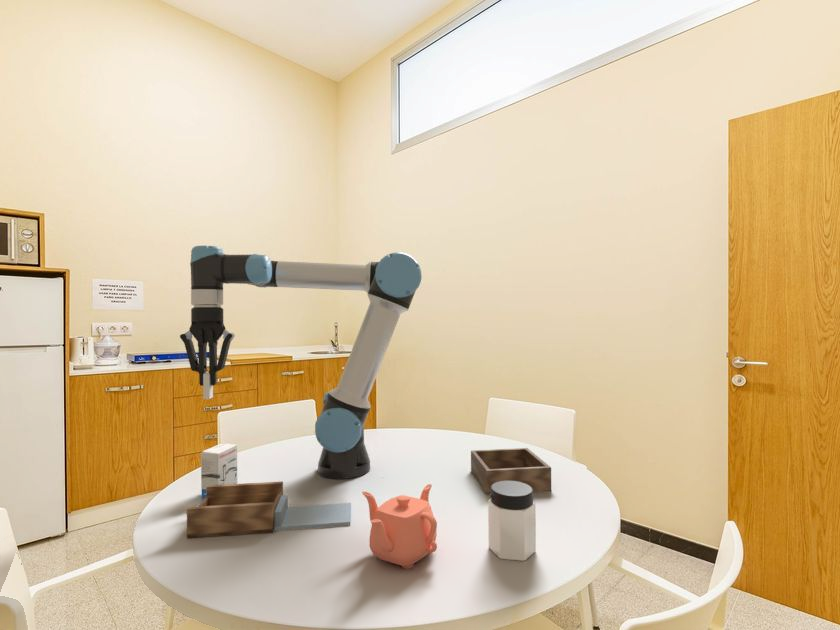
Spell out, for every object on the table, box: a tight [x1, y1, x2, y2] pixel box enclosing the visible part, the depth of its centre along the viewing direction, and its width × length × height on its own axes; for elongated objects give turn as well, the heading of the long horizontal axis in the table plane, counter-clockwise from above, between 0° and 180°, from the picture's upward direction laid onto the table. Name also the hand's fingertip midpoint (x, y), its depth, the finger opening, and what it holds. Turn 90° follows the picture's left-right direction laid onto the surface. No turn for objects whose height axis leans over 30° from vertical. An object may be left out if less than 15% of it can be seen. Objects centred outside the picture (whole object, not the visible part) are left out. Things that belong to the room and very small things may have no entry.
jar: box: [487, 481, 537, 562], centre depth 88 cm, size 9×8×12 cm
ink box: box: [200, 443, 238, 500], centre depth 116 cm, size 9×5×12 cm, turn 168°
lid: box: [273, 494, 352, 532], centre depth 102 cm, size 16×10×4 cm, turn 98°
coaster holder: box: [470, 447, 552, 495], centre depth 124 cm, size 17×17×6 cm
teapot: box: [361, 484, 438, 569], centre depth 86 cm, size 14×14×11 cm
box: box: [186, 481, 284, 539], centre depth 101 cm, size 17×13×6 cm
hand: (208, 398), depth 117 cm, fingers closed
